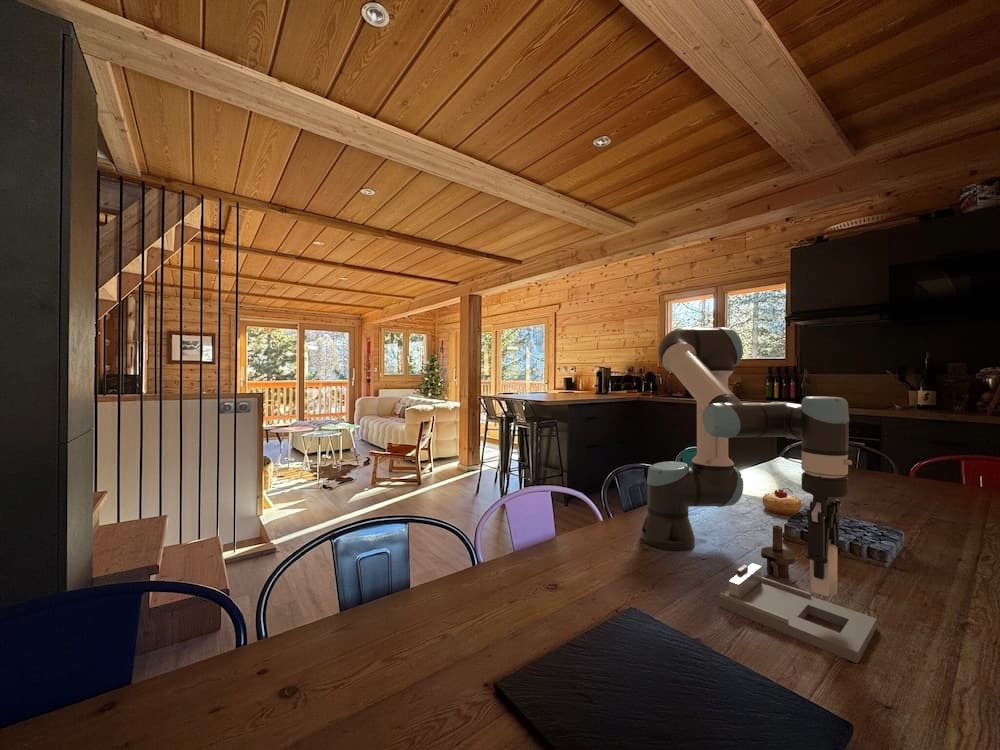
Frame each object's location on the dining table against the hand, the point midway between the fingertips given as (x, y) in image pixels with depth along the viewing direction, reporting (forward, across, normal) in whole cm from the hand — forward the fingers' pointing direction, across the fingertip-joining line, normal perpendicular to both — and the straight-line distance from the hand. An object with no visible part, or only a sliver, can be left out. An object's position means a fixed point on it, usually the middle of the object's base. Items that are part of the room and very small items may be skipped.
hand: (823, 588), depth 87 cm
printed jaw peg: (0, 0, 0) cm, 0 cm away
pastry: (+8, +74, +30) cm, 80 cm away
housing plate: (+8, 0, +5) cm, 10 cm away
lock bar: (+6, 0, +15) cm, 16 cm away
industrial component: (+8, +19, +15) cm, 25 cm away
